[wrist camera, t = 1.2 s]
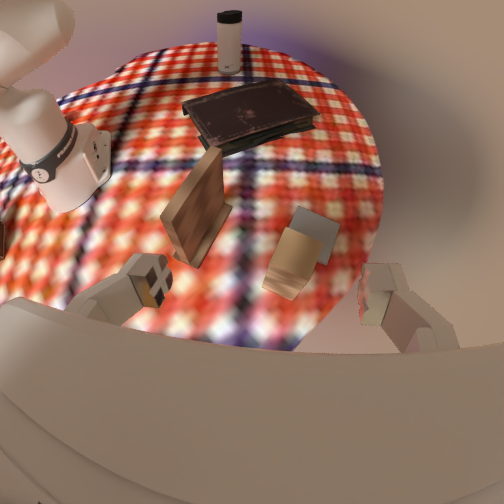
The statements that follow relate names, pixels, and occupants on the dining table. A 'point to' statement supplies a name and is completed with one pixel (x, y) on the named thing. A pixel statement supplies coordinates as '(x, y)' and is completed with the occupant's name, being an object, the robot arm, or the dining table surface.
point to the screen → (197, 210)
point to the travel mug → (229, 41)
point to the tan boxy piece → (292, 264)
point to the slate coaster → (316, 230)
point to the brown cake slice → (2, 239)
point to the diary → (249, 115)
